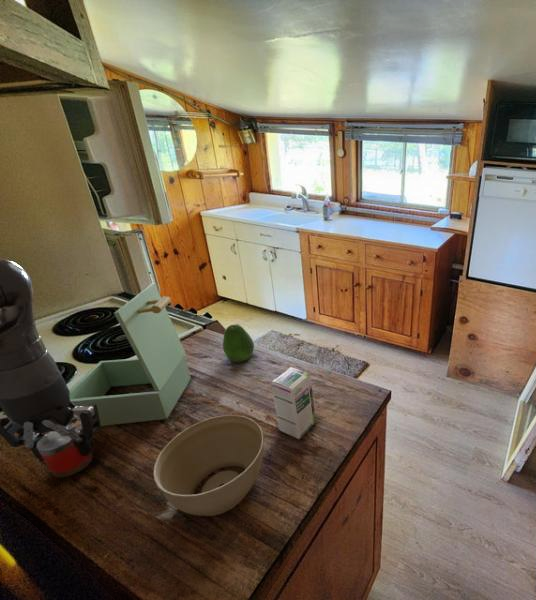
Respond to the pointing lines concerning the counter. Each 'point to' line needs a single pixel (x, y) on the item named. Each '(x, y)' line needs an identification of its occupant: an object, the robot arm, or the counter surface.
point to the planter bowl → (210, 464)
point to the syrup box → (294, 402)
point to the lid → (151, 334)
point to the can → (62, 454)
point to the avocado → (237, 343)
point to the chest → (128, 405)
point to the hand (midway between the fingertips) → (68, 454)
